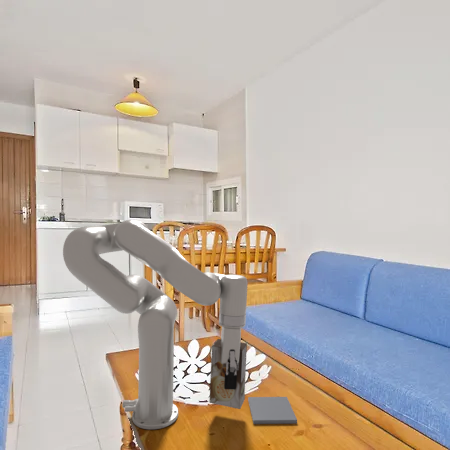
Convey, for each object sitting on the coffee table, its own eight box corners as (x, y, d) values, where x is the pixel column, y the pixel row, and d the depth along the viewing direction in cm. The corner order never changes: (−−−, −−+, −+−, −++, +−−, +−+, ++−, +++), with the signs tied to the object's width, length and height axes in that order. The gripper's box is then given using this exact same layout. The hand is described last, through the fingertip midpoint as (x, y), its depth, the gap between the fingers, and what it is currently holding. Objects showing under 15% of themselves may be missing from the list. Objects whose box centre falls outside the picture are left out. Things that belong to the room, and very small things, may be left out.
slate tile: (253, 423, 90) (253, 420, 90) (248, 400, 102) (248, 397, 102) (297, 423, 91) (297, 419, 91) (286, 400, 103) (286, 396, 103)
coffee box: (245, 398, 96) (248, 342, 96) (240, 410, 90) (243, 350, 90) (215, 392, 99) (218, 338, 98) (208, 403, 92) (211, 345, 92)
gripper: (218, 310, 102) (215, 367, 103) (220, 328, 85) (216, 397, 85) (242, 311, 103) (239, 368, 103) (249, 329, 85) (245, 397, 86)
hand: (229, 380), depth 94 cm, fingers closed on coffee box, 7 cm apart
